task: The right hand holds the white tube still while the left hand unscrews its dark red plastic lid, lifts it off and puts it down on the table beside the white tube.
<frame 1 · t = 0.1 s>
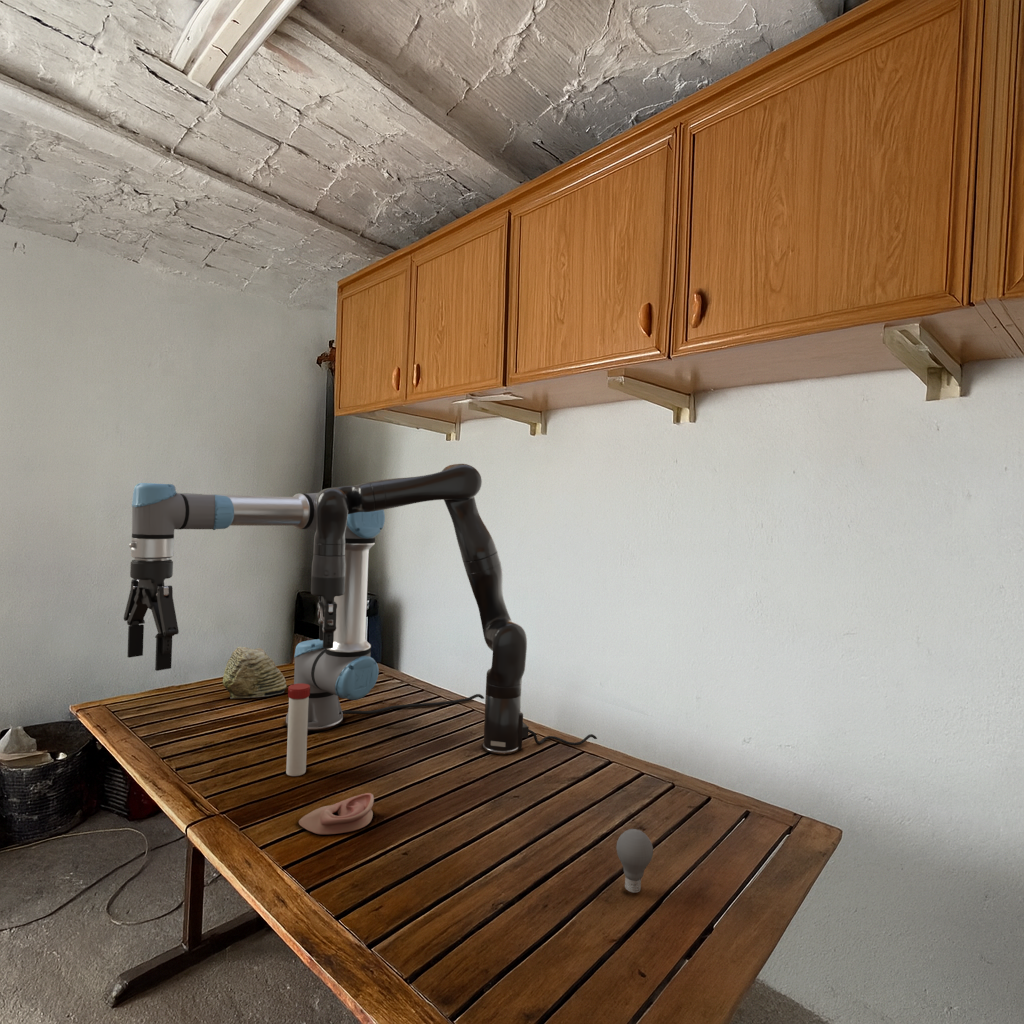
left hand: (148, 662, 129), 28 cm above the table, tool pointing down, fingers open, 13 cm apart
right hand: (325, 644, 146), 29 cm above the table, tool pointing down, fingers open, 8 cm apart
white tube: (296, 772, 145), on the table
lid: (299, 687, 145), point 19 cm above the table, screwed on, not yet turned
light bulb: (632, 891, 106), on the table
anatomical model: (336, 821, 124), on the table
fossil: (254, 694, 198), on the table
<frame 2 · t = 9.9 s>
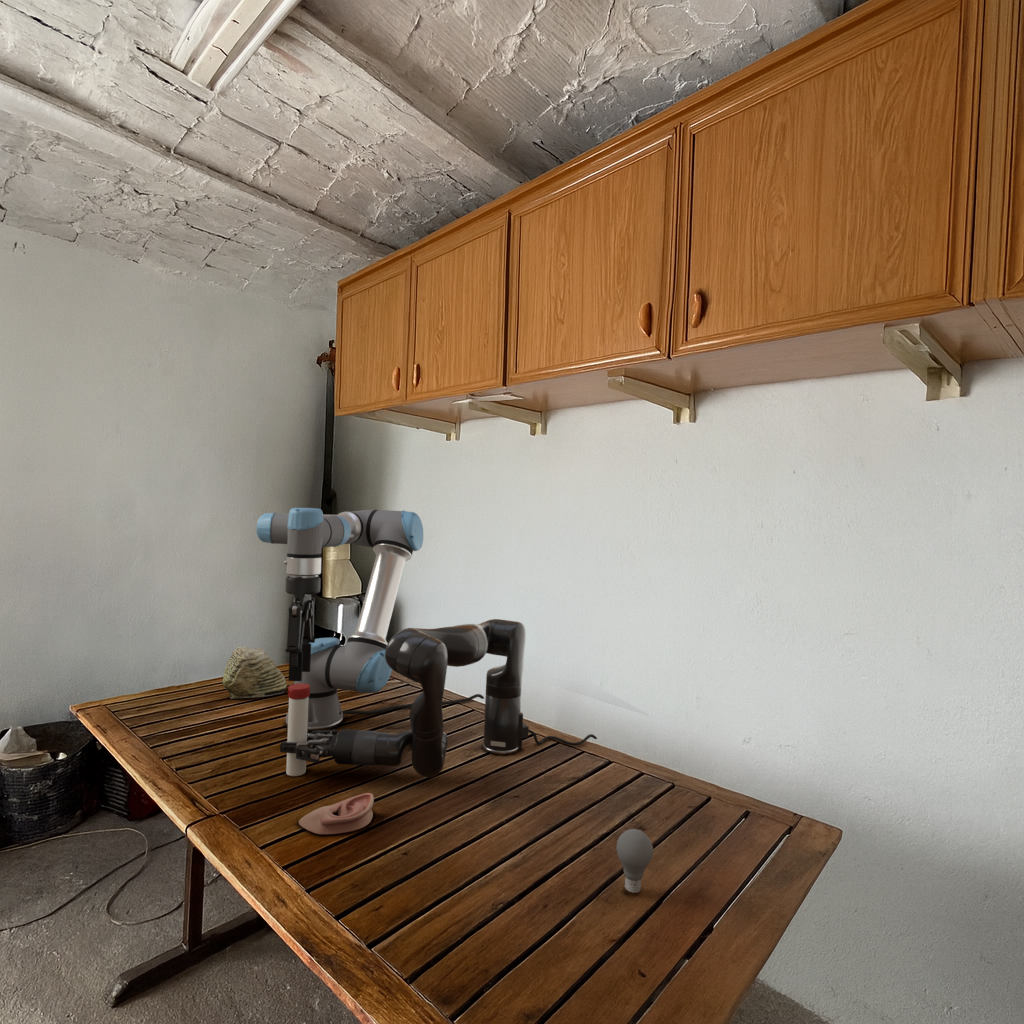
left hand: (299, 675, 145), 22 cm above the table, tool pointing down, fingers open, 7 cm apart
right hand: (285, 742, 145), 7 cm above the table, tool horizontal, fingers closed on white tube, 4 cm apart
white tube: (296, 772, 145), on the table, touching right hand
everything else where it was.
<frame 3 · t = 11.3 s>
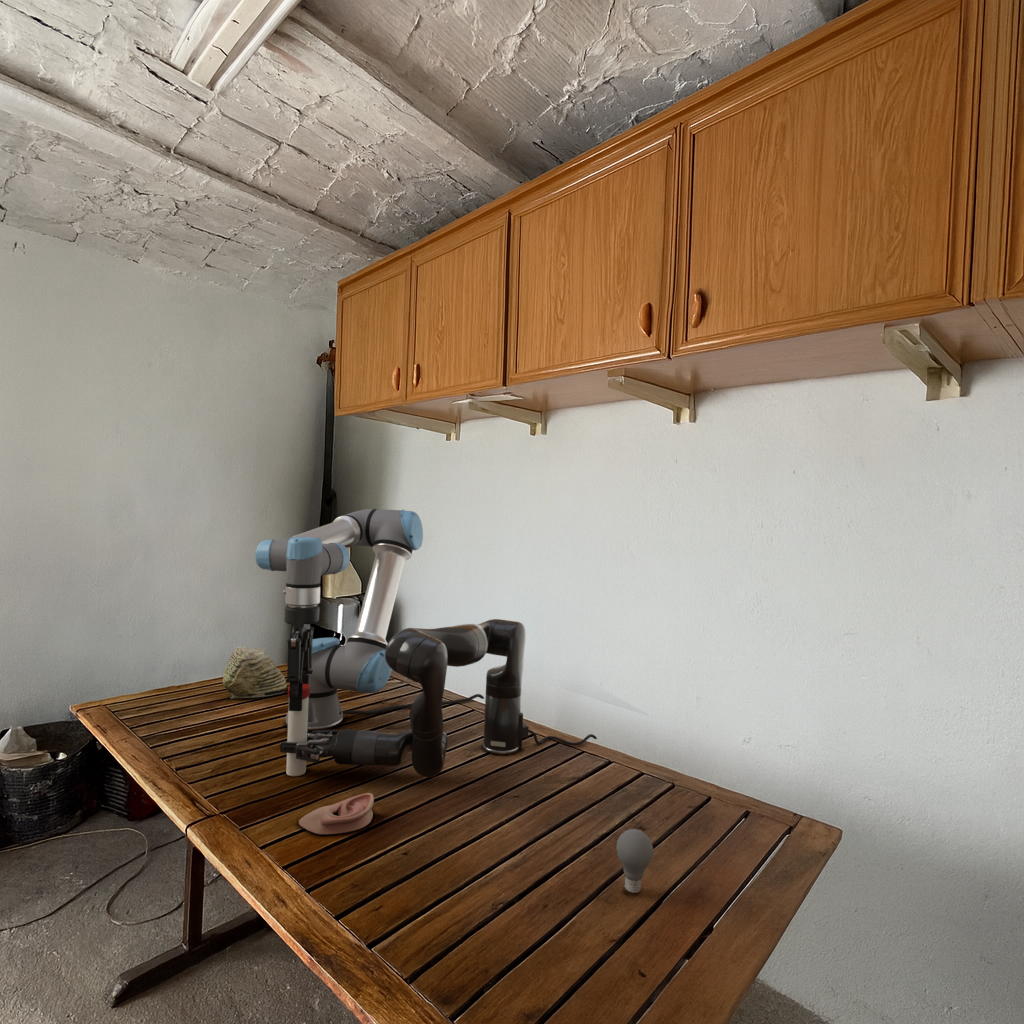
left hand: (298, 706, 145), 15 cm above the table, tool pointing down, fingers closed on lid, 5 cm apart
right hand: (285, 742, 145), 7 cm above the table, tool horizontal, fingers closed on white tube, 4 cm apart
white tube: (296, 772, 145), on the table, touching right hand
lid: (299, 687, 145), point 19 cm above the table, screwed on, not yet turned, touching left hand
everything else where it was.
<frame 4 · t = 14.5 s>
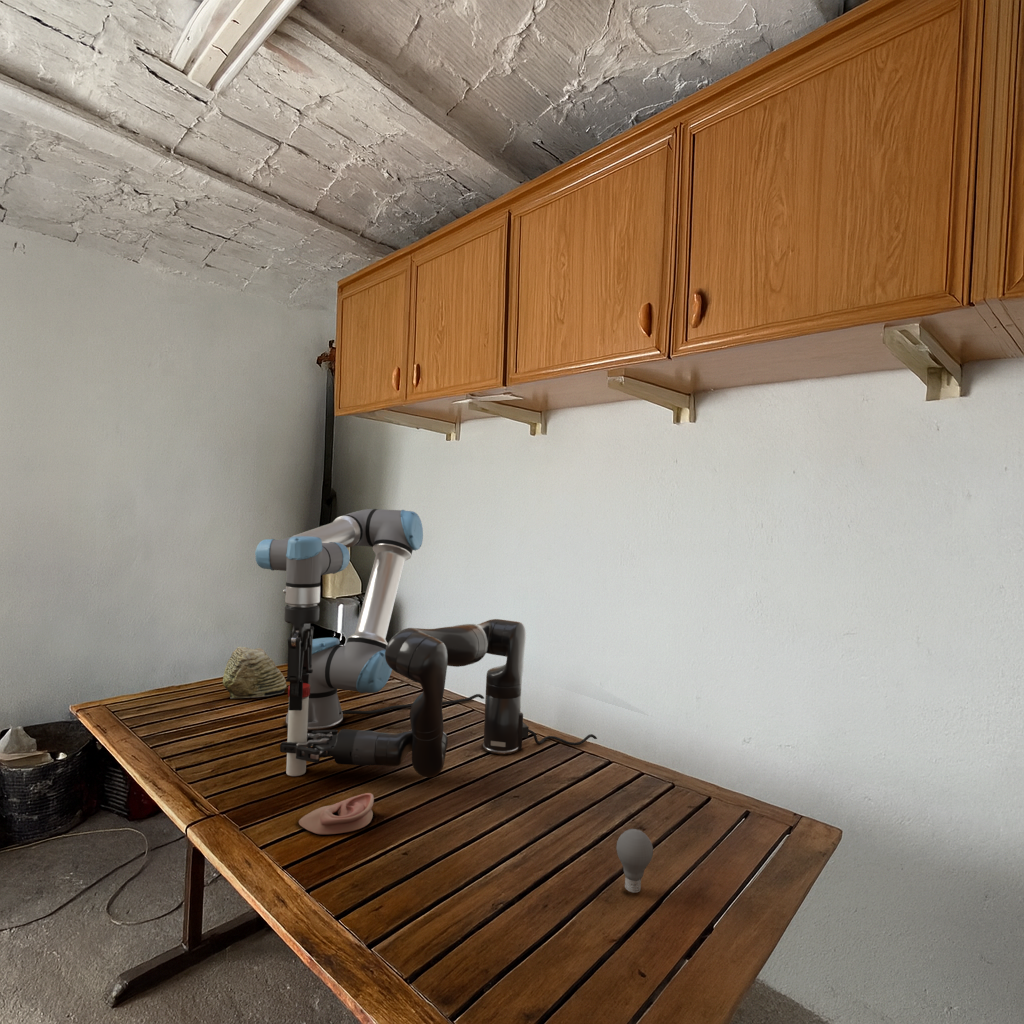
left hand: (298, 705, 145), 15 cm above the table, tool pointing down, fingers closed on lid, 5 cm apart
right hand: (285, 742, 145), 7 cm above the table, tool horizontal, fingers closed on white tube, 4 cm apart
white tube: (296, 772, 145), on the table, touching right hand
lid: (299, 687, 145), point 20 cm above the table, turned 93° so far, risen 0.1 cm, still on its thread, touching left hand
everything else where it was.
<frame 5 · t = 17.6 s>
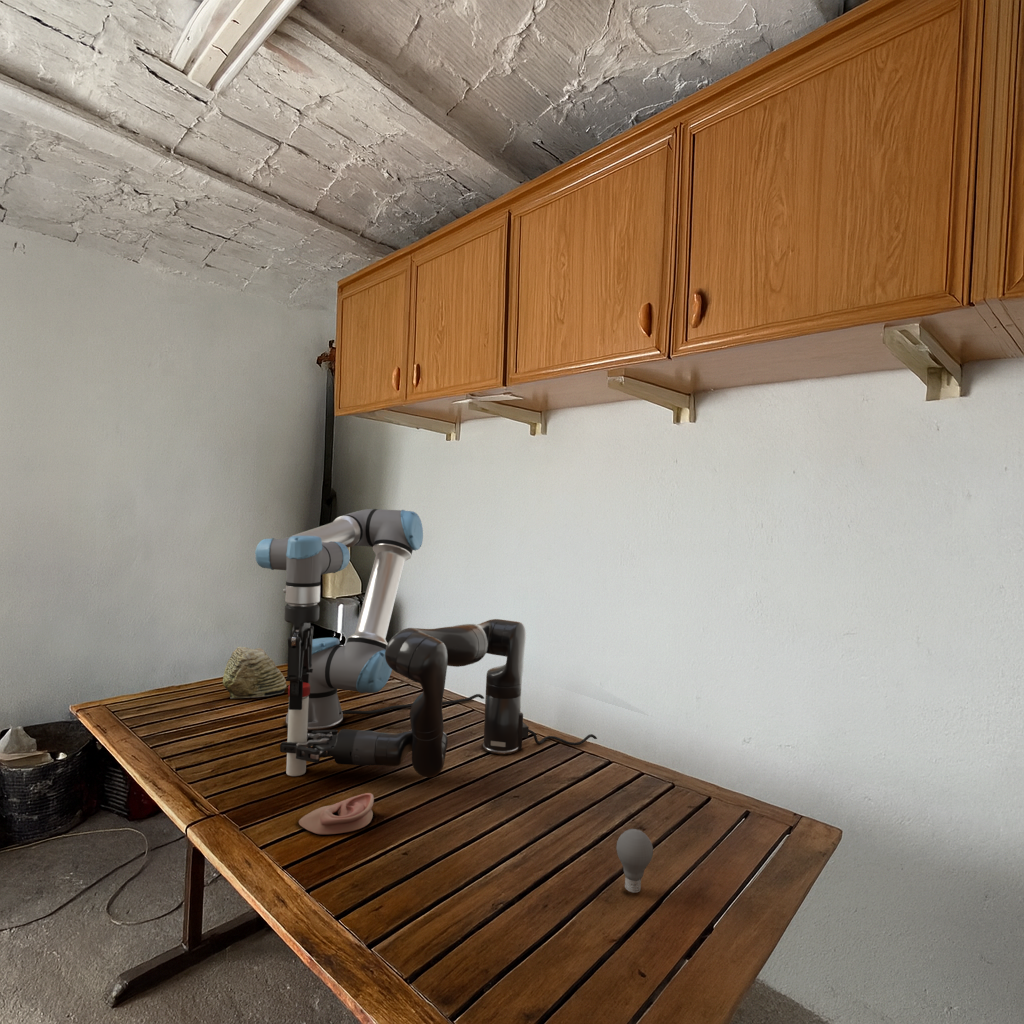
left hand: (298, 705, 145), 15 cm above the table, tool pointing down, fingers closed on lid, 5 cm apart
right hand: (285, 742, 145), 7 cm above the table, tool horizontal, fingers closed on white tube, 4 cm apart
white tube: (296, 772, 145), on the table, touching right hand
lid: (299, 686, 145), point 20 cm above the table, turned 185° so far, risen 0.3 cm, still on its thread, touching left hand
everything else where it was.
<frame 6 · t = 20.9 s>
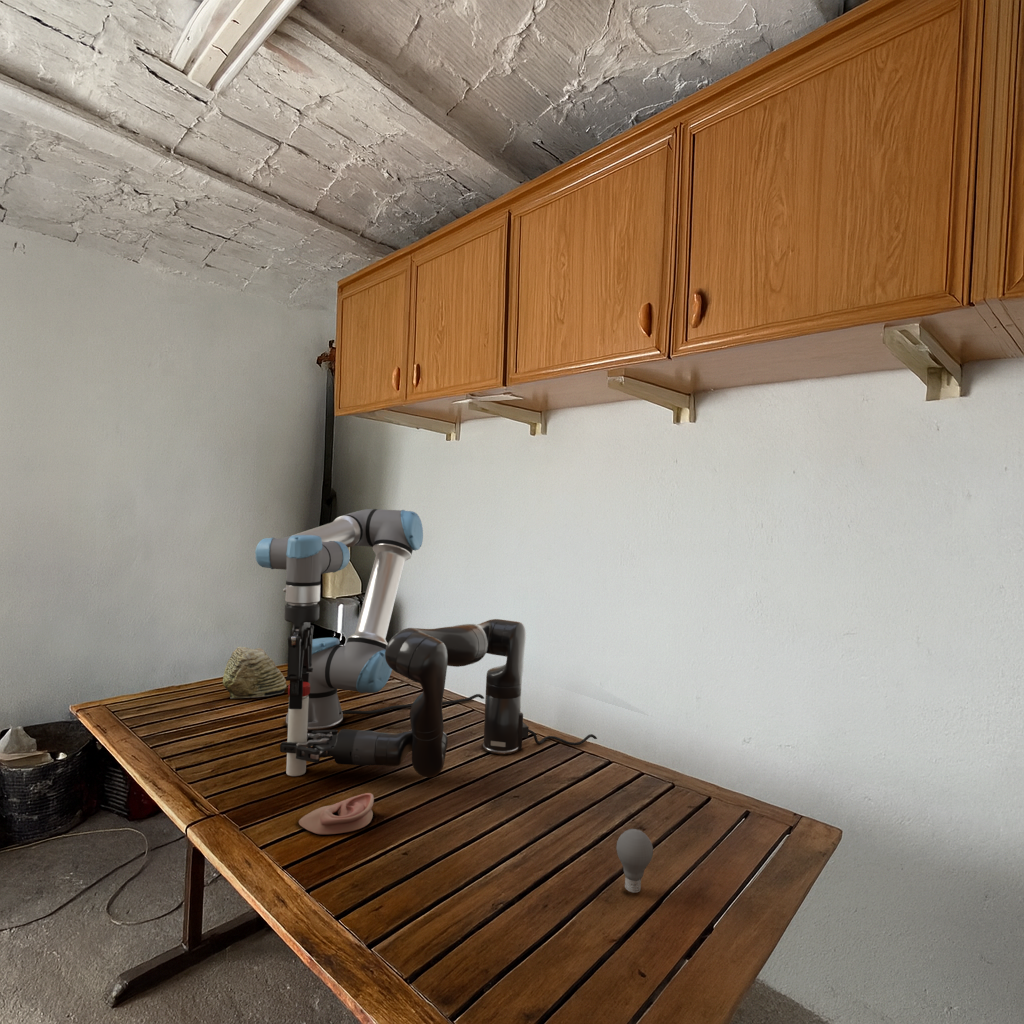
left hand: (298, 704, 145), 16 cm above the table, tool pointing down, fingers closed on lid, 5 cm apart
right hand: (285, 742, 145), 7 cm above the table, tool horizontal, fingers closed on white tube, 4 cm apart
white tube: (296, 772, 145), on the table, touching right hand
lid: (299, 685, 145), point 20 cm above the table, turned 278° so far, risen 0.4 cm, still on its thread, touching left hand
everything else where it was.
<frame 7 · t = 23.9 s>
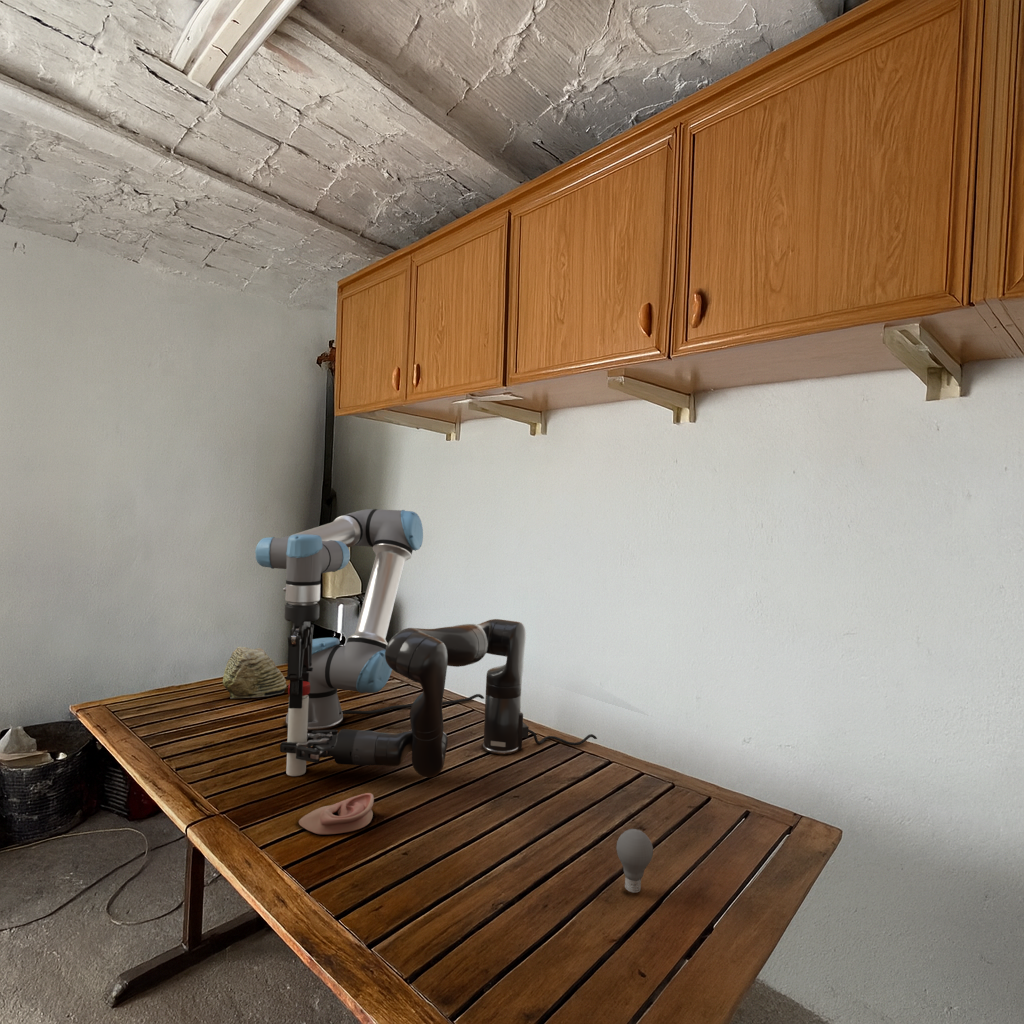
left hand: (298, 703, 145), 16 cm above the table, tool pointing down, fingers closed on lid, 5 cm apart
right hand: (285, 742, 145), 7 cm above the table, tool horizontal, fingers closed on white tube, 4 cm apart
white tube: (296, 772, 145), on the table, touching right hand
lid: (299, 685, 145), point 20 cm above the table, turned 371° so far, risen 0.6 cm, still on its thread, touching left hand
everything else where it was.
when the left hand's fingers open (0 cm above the table, at t = 35.6 s): lid drops 3 cm, point 2 cm above the table.
when the right hand's fingers open (7 cm above the table, at t = 36.1 s): white tube stays where it is, on the table.
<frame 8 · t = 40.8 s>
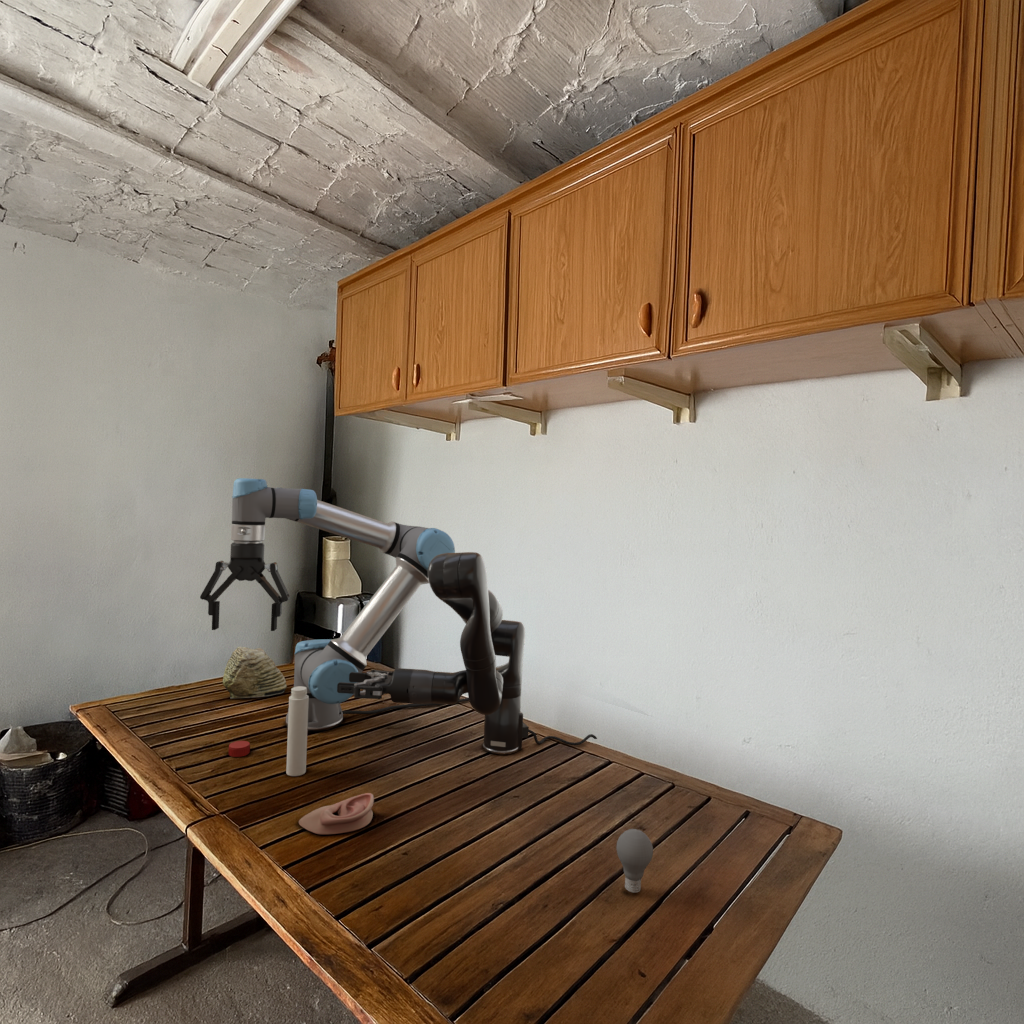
left hand: (244, 629, 154), 30 cm above the table, tool pointing down, fingers open, 13 cm apart
right hand: (343, 682, 144), 21 cm above the table, tool horizontal, fingers open, 8 cm apart
white tube: (296, 772, 145), on the table
lid: (239, 745, 154), point 2 cm above the table, off its thread
everything else where it was.
at the end: lid came off its thread; lid point 1.8 cm above the table; the left hand is holding nothing; the right hand is holding nothing; white tube tilted 0°; white tube moved 0.0 cm from its start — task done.
